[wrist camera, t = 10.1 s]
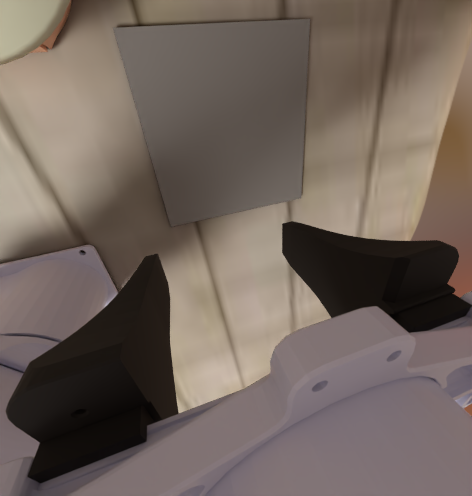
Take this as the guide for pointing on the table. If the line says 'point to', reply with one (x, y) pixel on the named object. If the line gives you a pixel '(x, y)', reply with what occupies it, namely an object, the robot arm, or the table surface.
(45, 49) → the bowl
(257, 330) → the table surface
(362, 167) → the table surface
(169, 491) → the robot arm
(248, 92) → the mat
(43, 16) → the lid
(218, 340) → the table surface
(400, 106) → the table surface
